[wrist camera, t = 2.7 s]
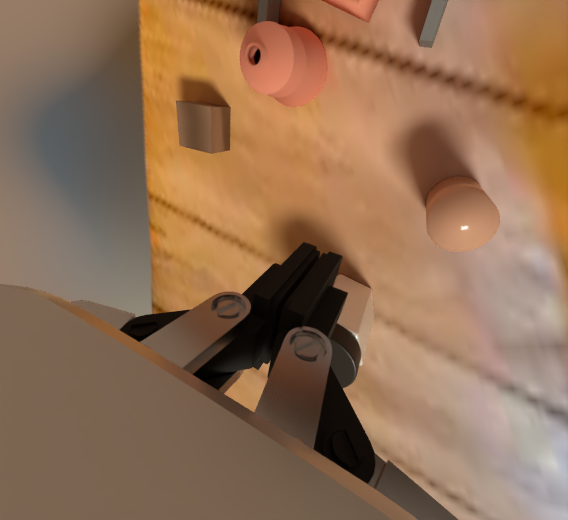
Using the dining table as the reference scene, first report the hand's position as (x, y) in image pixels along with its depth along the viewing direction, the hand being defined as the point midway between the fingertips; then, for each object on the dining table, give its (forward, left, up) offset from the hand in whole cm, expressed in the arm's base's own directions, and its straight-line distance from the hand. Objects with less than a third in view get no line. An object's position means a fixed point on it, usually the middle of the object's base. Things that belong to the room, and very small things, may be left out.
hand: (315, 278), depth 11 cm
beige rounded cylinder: (-8, +1, -23) cm, 24 cm away
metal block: (+22, -1, -23) cm, 32 cm away
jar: (-1, +18, -23) cm, 29 cm away
